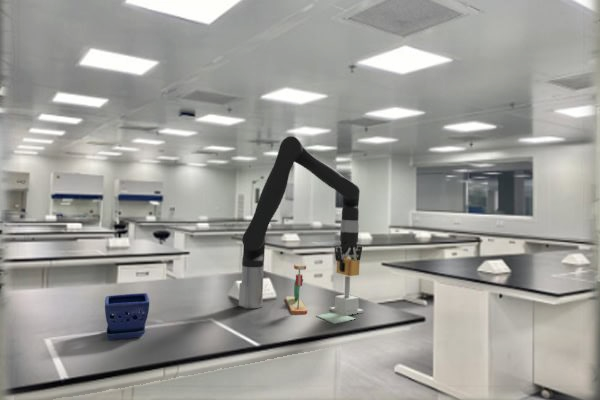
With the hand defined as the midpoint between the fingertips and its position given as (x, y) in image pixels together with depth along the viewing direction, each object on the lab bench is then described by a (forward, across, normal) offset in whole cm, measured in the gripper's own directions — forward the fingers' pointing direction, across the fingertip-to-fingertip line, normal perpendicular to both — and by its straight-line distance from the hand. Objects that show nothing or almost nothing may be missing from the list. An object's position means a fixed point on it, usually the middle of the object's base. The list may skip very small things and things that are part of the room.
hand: (347, 271), depth 169 cm
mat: (+17, +10, +6) cm, 21 cm away
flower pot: (+18, +84, -14) cm, 87 cm away
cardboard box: (+1, 0, 0) cm, 1 cm away
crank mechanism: (+17, +14, -17) cm, 28 cm away
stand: (+17, 0, 0) cm, 17 cm away
